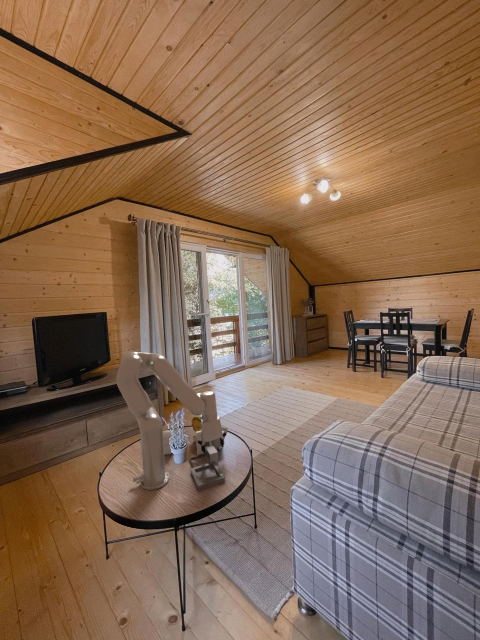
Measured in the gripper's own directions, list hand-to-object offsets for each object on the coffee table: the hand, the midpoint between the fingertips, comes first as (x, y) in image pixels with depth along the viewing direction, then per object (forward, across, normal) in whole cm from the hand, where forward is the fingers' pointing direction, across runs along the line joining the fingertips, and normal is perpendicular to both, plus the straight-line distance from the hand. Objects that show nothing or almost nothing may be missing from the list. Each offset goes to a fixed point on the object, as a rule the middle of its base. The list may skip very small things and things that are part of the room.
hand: (213, 449), depth 136 cm
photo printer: (+6, -21, +20) cm, 30 cm away
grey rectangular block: (+6, -1, 0) cm, 6 cm away
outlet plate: (+6, +1, +8) cm, 10 cm away
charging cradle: (+6, -7, -11) cm, 14 cm away
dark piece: (+6, -3, +2) cm, 7 cm away
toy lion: (+6, 0, +21) cm, 22 cm away
